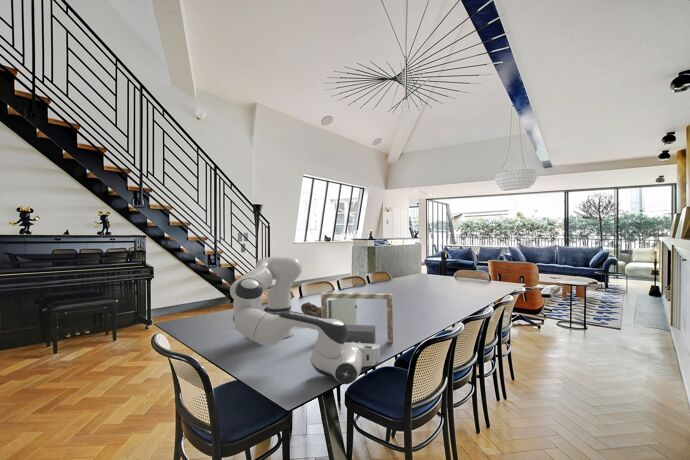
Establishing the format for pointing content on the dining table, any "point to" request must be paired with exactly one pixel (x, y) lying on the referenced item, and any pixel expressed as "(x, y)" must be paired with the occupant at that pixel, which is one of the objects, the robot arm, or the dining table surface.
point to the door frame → (362, 296)
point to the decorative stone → (311, 309)
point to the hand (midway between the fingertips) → (356, 343)
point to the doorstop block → (361, 333)
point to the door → (343, 310)
